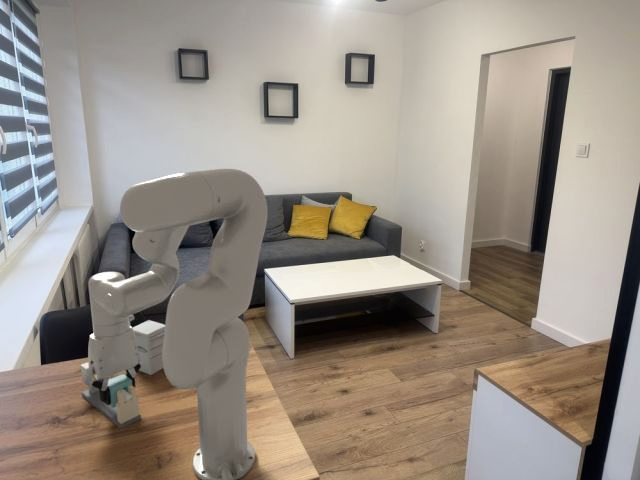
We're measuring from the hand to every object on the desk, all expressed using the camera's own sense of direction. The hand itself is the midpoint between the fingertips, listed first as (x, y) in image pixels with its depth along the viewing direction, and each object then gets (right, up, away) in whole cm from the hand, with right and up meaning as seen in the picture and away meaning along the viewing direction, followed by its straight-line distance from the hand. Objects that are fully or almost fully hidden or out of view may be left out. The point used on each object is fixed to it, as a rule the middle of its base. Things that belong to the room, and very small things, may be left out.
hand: (118, 396), depth 104 cm
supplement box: (-1, 0, +23) cm, 23 cm away
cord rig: (-4, -4, +4) cm, 7 cm away
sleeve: (0, -1, 0) cm, 1 cm away
